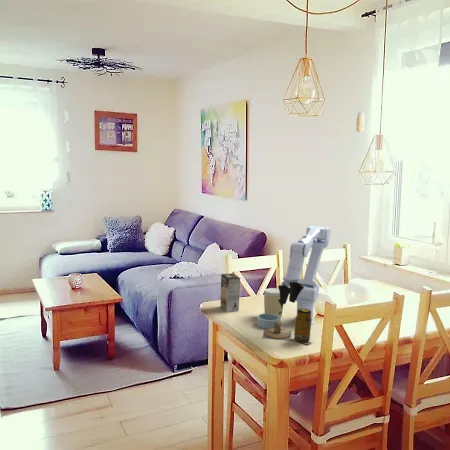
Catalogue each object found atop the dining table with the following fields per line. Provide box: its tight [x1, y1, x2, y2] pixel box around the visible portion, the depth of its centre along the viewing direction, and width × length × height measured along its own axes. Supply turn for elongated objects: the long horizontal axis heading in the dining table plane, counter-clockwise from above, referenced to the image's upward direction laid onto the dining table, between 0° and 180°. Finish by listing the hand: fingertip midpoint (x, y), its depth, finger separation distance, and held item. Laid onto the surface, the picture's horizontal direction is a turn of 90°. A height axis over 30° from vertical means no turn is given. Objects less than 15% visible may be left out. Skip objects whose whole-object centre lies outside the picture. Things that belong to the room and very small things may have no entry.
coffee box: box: [220, 272, 241, 313], centre depth 225 cm, size 9×6×16 cm
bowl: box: [256, 312, 281, 329], centre depth 204 cm, size 10×10×4 cm
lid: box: [265, 321, 290, 340], centre depth 192 cm, size 10×10×5 cm
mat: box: [261, 328, 292, 342], centre depth 192 cm, size 11×11×1 cm
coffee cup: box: [263, 287, 284, 319], centre depth 216 cm, size 9×9×12 cm
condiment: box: [290, 308, 313, 345], centre depth 187 cm, size 7×8×12 cm
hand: (287, 302), depth 189 cm, fingers open, 7 cm apart
